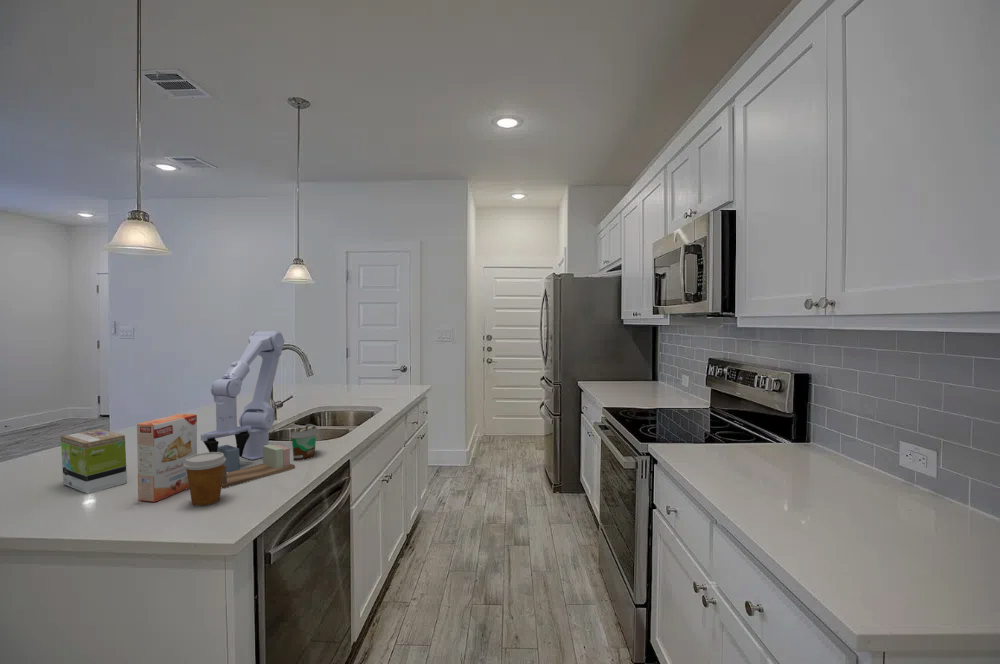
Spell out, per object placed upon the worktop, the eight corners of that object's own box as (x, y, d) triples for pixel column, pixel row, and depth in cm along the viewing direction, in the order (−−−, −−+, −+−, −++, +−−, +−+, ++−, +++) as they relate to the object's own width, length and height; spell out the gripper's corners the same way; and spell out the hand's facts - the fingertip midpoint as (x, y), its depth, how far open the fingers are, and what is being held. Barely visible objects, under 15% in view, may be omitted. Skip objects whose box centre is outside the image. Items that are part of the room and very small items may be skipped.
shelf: (206, 481, 142) (206, 461, 142) (277, 462, 160) (277, 444, 160) (223, 488, 137) (222, 467, 136) (294, 468, 154) (294, 449, 154)
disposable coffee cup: (235, 496, 131) (234, 453, 130) (204, 510, 121) (203, 463, 121) (207, 493, 133) (206, 450, 133) (175, 506, 124) (174, 460, 124)
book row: (263, 464, 155) (262, 446, 155) (276, 460, 159) (276, 442, 159) (276, 469, 151) (276, 450, 150) (290, 465, 154) (289, 446, 154)
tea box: (61, 485, 139) (59, 435, 138) (102, 475, 148) (101, 427, 147) (86, 495, 132) (84, 441, 131) (128, 483, 141) (126, 433, 140)
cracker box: (156, 503, 126) (153, 424, 125) (137, 501, 127) (134, 423, 127) (199, 484, 140) (197, 413, 139) (182, 483, 141) (180, 412, 140)
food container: (309, 461, 161) (309, 432, 161) (291, 461, 161) (291, 432, 161) (324, 451, 173) (323, 423, 173) (307, 451, 173) (306, 423, 173)
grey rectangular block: (216, 468, 154) (215, 447, 154) (227, 465, 157) (226, 444, 157) (228, 473, 150) (227, 451, 149) (239, 470, 153) (239, 448, 152)
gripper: (207, 422, 145) (208, 466, 145) (255, 414, 156) (256, 455, 157) (197, 419, 149) (198, 462, 149) (244, 411, 160) (245, 451, 161)
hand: (227, 458), depth 153 cm, fingers open, 7 cm apart
